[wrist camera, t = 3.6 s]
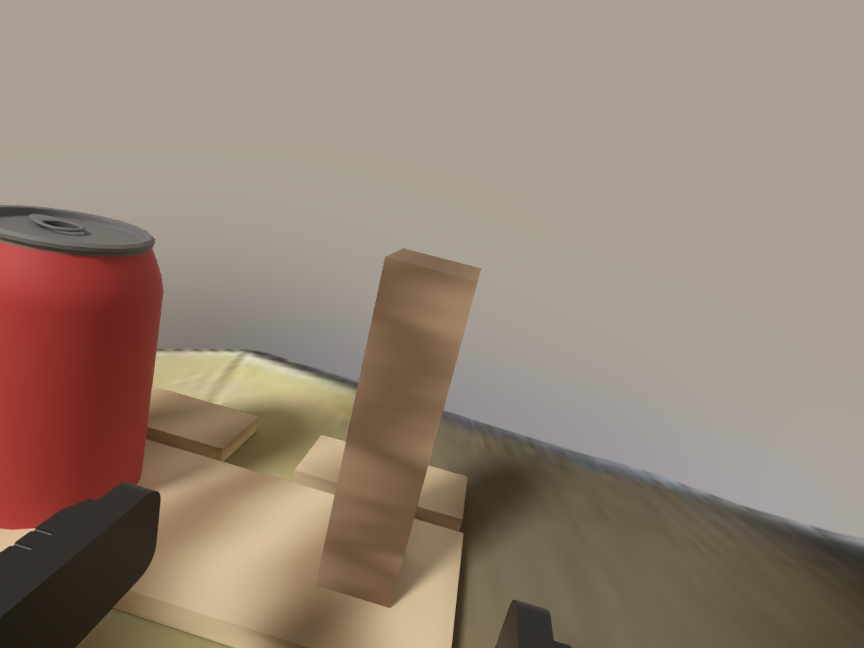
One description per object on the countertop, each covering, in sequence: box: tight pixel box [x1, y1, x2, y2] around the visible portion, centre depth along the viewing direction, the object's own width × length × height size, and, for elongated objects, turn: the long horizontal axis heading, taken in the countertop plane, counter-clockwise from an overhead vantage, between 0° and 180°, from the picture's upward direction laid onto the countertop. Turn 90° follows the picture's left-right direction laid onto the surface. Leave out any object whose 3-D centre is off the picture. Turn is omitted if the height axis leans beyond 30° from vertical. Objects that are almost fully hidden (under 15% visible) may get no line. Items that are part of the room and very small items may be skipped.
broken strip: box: [146, 386, 467, 532], centre depth 27 cm, size 22×4×1 cm, turn 82°
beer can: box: [0, 205, 163, 530], centre depth 20 cm, size 7×7×12 cm
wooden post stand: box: [0, 249, 481, 648], centre depth 19 cm, size 22×8×14 cm, turn 82°
